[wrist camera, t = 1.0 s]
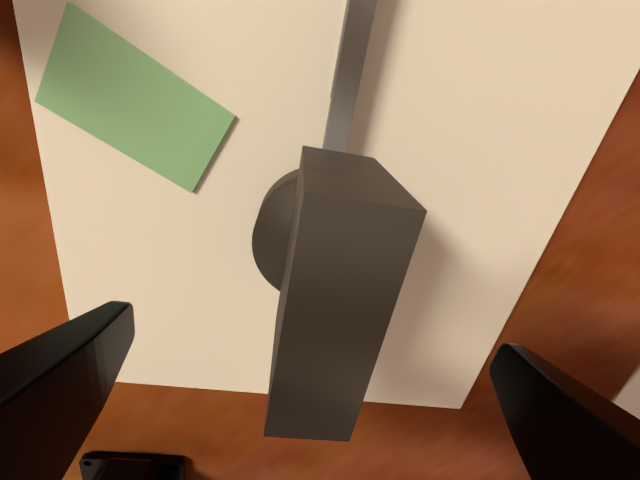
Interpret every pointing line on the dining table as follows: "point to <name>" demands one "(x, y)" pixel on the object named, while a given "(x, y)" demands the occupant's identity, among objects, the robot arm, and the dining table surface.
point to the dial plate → (285, 153)
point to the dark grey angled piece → (333, 264)
